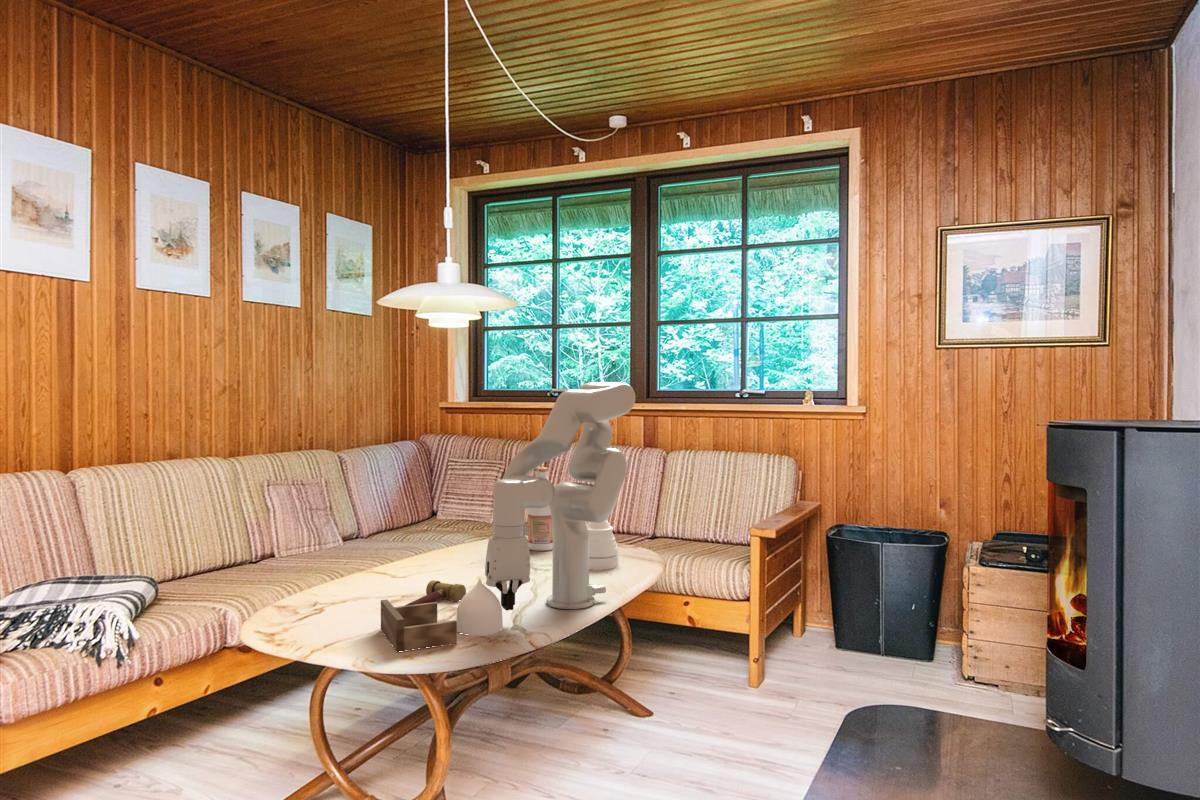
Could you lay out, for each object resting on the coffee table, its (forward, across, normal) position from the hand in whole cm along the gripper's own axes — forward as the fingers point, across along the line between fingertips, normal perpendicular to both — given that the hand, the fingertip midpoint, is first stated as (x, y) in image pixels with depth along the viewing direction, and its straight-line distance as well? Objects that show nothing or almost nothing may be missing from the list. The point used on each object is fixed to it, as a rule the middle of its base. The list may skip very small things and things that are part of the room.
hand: (507, 608), depth 188 cm
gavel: (+4, +13, -24) cm, 28 cm away
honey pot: (+3, -47, -46) cm, 66 cm away
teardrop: (+4, +7, 0) cm, 8 cm away
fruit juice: (+3, -40, -76) cm, 86 cm away
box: (+4, +21, 0) cm, 22 cm away
